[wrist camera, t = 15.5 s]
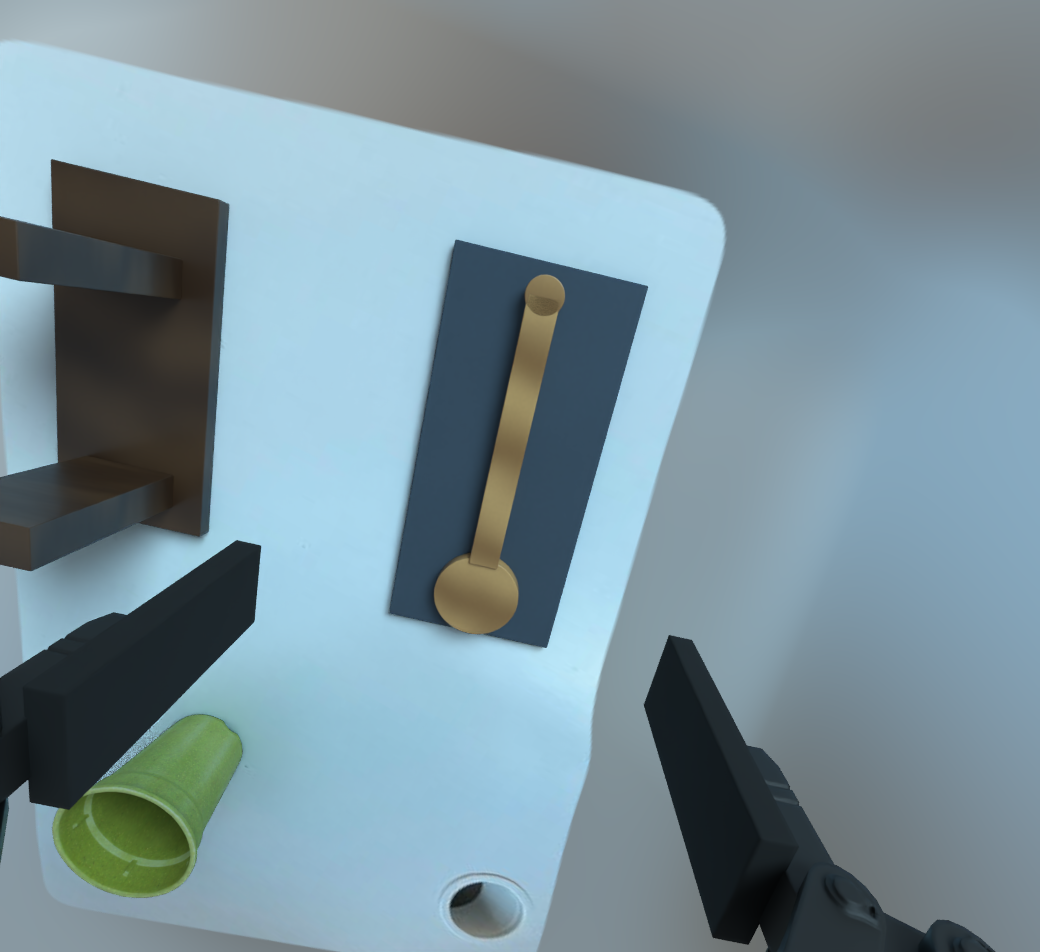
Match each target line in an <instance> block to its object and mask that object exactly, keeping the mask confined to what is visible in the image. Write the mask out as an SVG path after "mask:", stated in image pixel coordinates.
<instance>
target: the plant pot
mask: <svg viewBox="0 0 1040 952" xmlns="http://www.w3.org/2000/svg"><path fill="white" fill-rule="evenodd" d="M241 757H242V744H241V741H240V738H239V737H238V735H237V734H236V733H233V732H232V731H230V730H229V729H228V727H227V726H226V725H225V723H224V722H223V721H222V720H220V719H218V718H215V717H212V716H209V715H191V716H187V717H185V718H183V719H181V720H180V721H178V722H176V723H175V724H174V725H173V726H171V727H170V728H169V729H168V730H166V731H165V732H164V733H163V734H161V735H160V736H159V737H158V738H157V739H155V740H154V741H153V742H152V743H151V744H149V745H148V746H147V747H146V748H144V749H143V750H142V751H141V752H140V753H138V754H137V755H136V756H135V757H133V758H132V759H131V760H130V761H128V762H127V763H126V764H125V765H123V766H122V767H121V768H120V769H118V770H117V771H116V772H115V773H113V774H112V775H111V776H109V777H106V778H104V779H102V780H101V781H99V782H97V783H96V784H95V785H93V786H92V787H91V788H90V789H89V790H88V791H87V792H86V793H85V794H84V795H83V796H82V797H81V798H80V799H79V800H78V802H77V803H76V804H75V805H74V806H73V807H72V808H71V809H70V810H67V809H62V808H59V809H58V811H57V813H56V815H55V818H54V822H53V827H52V834H53V839H54V844H55V847H56V849H57V851H58V853H59V854H60V856H61V858H62V859H63V861H64V862H65V863H66V864H67V866H68V867H69V868H70V869H71V870H72V871H73V872H74V873H75V874H77V875H78V876H79V877H80V878H82V879H83V880H85V881H86V882H88V883H89V884H91V885H93V886H95V887H97V888H99V889H101V890H103V891H106V892H108V893H112V894H116V895H119V896H123V897H132V898H148V897H154V896H159V895H163V894H166V893H169V892H170V891H173V890H174V889H176V888H178V887H179V886H180V885H181V884H183V883H184V882H185V880H186V879H187V878H188V877H189V875H190V874H191V872H192V870H193V868H194V866H195V863H196V859H197V849H198V847H199V845H200V842H201V839H202V834H203V831H204V829H205V827H206V825H207V823H208V821H209V819H210V817H211V816H212V814H213V812H214V810H215V808H216V806H217V804H218V802H219V800H220V798H221V797H222V795H223V793H224V791H225V789H226V787H227V785H228V783H229V781H230V780H231V778H232V776H233V774H234V772H235V770H236V768H237V766H238V764H239V762H240V760H241Z"/></svg>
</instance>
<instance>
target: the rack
mask: <svg viewBox="0 0 1040 952" xmlns="http://www.w3.org/2000/svg"><path fill="white" fill-rule="evenodd" d="M51 186H52V228H53V229H52V228H48V227H44V226H40V225H35V224H31V223H27V222H23V221H18V220H14V219H10V218H6V217H1V216H0V276H1V277H5V278H9V279H14V280H18V281H25V282H34V283H42V284H51V285H54V312H55V354H56V396H57V439H58V463H55V464H51V465H47V466H43V467H39V468H35V469H31V470H27V471H23V472H19V473H15V474H12V475H8V476H4V477H0V565H4V566H9V567H13V568H18V569H23V570H27V571H33V570H35V569H37V568H39V567H41V566H44V565H46V564H48V563H50V562H52V561H55V560H57V559H59V558H61V557H63V556H66V555H68V554H70V553H72V552H75V551H77V550H79V549H81V548H83V547H86V546H88V545H90V544H92V543H94V542H97V541H99V540H101V539H103V538H105V537H108V536H110V535H112V534H114V533H116V532H119V531H121V530H123V529H125V528H127V527H130V526H132V525H134V524H136V523H141V524H145V525H150V526H154V527H159V528H163V529H168V530H172V531H177V532H181V533H186V534H190V535H195V536H202V535H203V534H205V533H207V532H208V530H209V514H210V499H211V483H212V467H213V451H214V435H215V420H216V404H217V388H218V372H219V357H220V341H221V325H222V309H223V293H224V278H225V262H226V246H227V230H228V215H229V204H227V203H225V202H223V201H221V200H218V199H214V198H210V197H206V196H202V195H197V194H193V193H189V192H185V191H181V190H177V189H173V188H169V187H164V186H160V185H156V184H152V183H148V182H144V181H140V180H135V179H131V178H127V177H123V176H119V175H115V174H111V173H106V172H102V171H98V170H94V169H90V168H86V167H82V166H78V165H73V164H69V163H65V162H61V161H57V160H53V159H52V160H51Z"/></svg>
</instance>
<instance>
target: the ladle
mask: <svg viewBox="0 0 1040 952" xmlns="http://www.w3.org/2000/svg"><path fill="white" fill-rule="evenodd" d="M564 300H565V291H564V288H563V285H562V284H561V282H560V281H559V280H558V279H557V278H555V277H553V276H551V275H539V276H537V277H535V278H533V279H532V280H531V281H530V282H529V284H528V285H527V287H526V290H525V303H526V305H525V310H524V314H523V319H522V323H521V328H520V333H519V337H518V342H517V346H516V351H515V355H514V360H513V364H512V369H511V373H510V378H509V383H508V387H507V392H506V396H505V401H504V405H503V410H502V414H501V419H500V423H499V428H498V433H497V437H496V442H495V446H494V451H493V455H492V460H491V464H490V469H489V473H488V478H487V483H486V487H485V492H484V496H483V501H482V505H481V510H480V514H479V519H478V523H477V528H476V533H475V537H474V542H473V546H472V551H471V553H466V554H463V555H460V556H457V557H455V558H454V559H452V560H451V561H449V562H448V563H447V564H446V565H445V566H444V567H443V569H442V570H441V572H440V574H439V576H438V578H437V581H436V584H435V587H434V601H435V605H436V608H437V610H438V612H439V613H440V615H441V616H442V618H443V619H444V620H445V621H446V622H447V623H448V624H449V625H451V626H452V627H454V628H456V629H457V630H460V631H462V632H466V633H471V634H485V633H490V632H493V631H495V630H498V629H499V628H501V627H503V626H504V625H505V624H506V623H508V621H509V620H510V619H511V618H512V616H513V615H514V613H515V611H516V608H517V605H518V597H519V587H518V582H517V579H516V577H515V575H514V573H513V571H512V570H511V569H510V567H509V566H508V565H507V564H506V563H504V562H503V561H502V560H500V555H501V551H502V547H503V542H504V538H505V534H506V530H507V526H508V521H509V517H510V513H511V509H512V505H513V500H514V496H515V492H516V488H517V484H518V479H519V475H520V471H521V467H522V463H523V458H524V454H525V450H526V446H527V442H528V437H529V433H530V429H531V425H532V421H533V416H534V412H535V408H536V404H537V400H538V395H539V391H540V387H541V383H542V378H543V374H544V370H545V366H546V362H547V357H548V353H549V349H550V345H551V341H552V336H553V332H554V328H555V324H556V320H557V315H558V312H559V311H560V309H561V308H562V306H563V304H564Z"/></svg>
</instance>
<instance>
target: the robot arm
mask: <svg viewBox="0 0 1040 952" xmlns="http://www.w3.org/2000/svg"><path fill="white" fill-rule="evenodd" d="M260 553H261V546H260V545H256V544H251V543H247V542H242V541H238V540H236V541H235V542H233V543H232V544H230V545H229V546H228V547H226V548H225V549H223V550H222V551H220V552H219V553H217V554H216V555H214V556H213V557H211V558H210V559H208V560H207V561H206V562H204V563H203V564H201V565H200V566H198V567H197V568H195V569H194V570H192V571H191V572H189V573H188V574H187V575H185V576H184V577H182V578H181V579H179V580H178V581H176V582H175V583H173V584H172V585H170V586H169V587H168V588H166V589H165V590H163V591H162V592H160V593H159V594H157V595H156V596H154V597H153V598H151V599H150V600H148V601H147V602H146V603H144V604H143V605H141V606H140V607H138V608H137V609H135V610H134V611H132V612H131V613H129V614H128V615H124V614H119V613H114V612H113V613H111V614H108V615H105V616H103V617H100V618H97V619H94V620H92V621H89V622H87V623H85V624H84V625H82V626H80V627H79V628H77V629H76V630H74V631H73V632H71V633H70V634H68V635H66V637H65V639H63V638H62V639H60V640H59V641H57V642H55V643H54V644H52V645H51V646H49V648H48V649H47V650H43V651H41V652H40V653H38V654H37V655H35V656H33V657H32V658H30V659H29V660H27V661H26V662H24V663H22V664H21V665H19V666H18V667H16V668H15V669H13V670H12V671H10V672H9V673H7V674H5V675H4V676H2V677H1V678H0V862H1V855H2V849H3V843H4V836H5V830H6V823H7V817H8V811H9V806H8V797H9V796H10V795H11V794H12V793H13V792H14V791H15V790H17V789H18V788H19V787H20V786H21V785H22V784H23V783H24V782H26V781H27V780H28V781H29V798H30V802H31V803H36V804H41V805H46V806H52V807H57V808H62V809H67V810H70V809H71V808H72V807H73V806H74V805H75V804H76V803H77V802H78V800H79V799H80V798H81V797H82V796H83V795H84V794H85V793H86V792H87V791H88V790H89V789H90V788H91V787H92V786H93V785H94V784H95V783H96V782H97V781H98V780H99V779H100V778H101V777H102V776H103V775H104V774H105V773H106V772H107V771H108V770H109V769H110V768H111V767H112V766H113V765H114V764H115V763H116V762H117V761H118V760H119V759H120V758H121V757H122V756H123V755H124V754H125V753H126V752H127V751H128V750H129V749H130V748H131V747H132V746H133V745H134V744H135V743H136V742H137V741H138V739H139V738H140V737H141V736H142V735H143V734H144V733H145V732H146V731H147V730H148V729H149V728H150V727H151V726H152V725H153V724H154V723H155V722H156V721H157V720H158V719H159V718H160V717H161V716H162V715H163V714H164V713H165V712H166V711H167V710H168V709H169V708H170V707H171V706H172V705H173V704H174V703H175V702H176V701H177V700H178V699H179V698H180V697H181V696H182V695H183V694H184V693H185V692H186V691H187V690H188V689H189V688H190V687H191V686H192V685H193V684H194V683H195V682H196V681H197V680H198V678H199V677H200V676H201V675H202V674H203V673H204V672H205V671H206V670H207V669H208V668H209V667H210V666H211V665H212V664H213V663H214V662H215V661H216V660H217V659H218V658H219V657H220V656H221V655H222V654H223V653H224V652H225V651H226V650H227V649H228V648H229V647H230V646H231V645H232V644H233V643H234V642H235V641H236V640H237V639H238V638H239V637H240V636H241V635H242V634H243V633H244V632H245V631H246V630H247V629H248V628H249V627H250V626H251V625H252V624H253V623H254V620H255V609H256V598H257V586H258V575H259V564H260ZM644 707H645V711H646V714H647V717H648V721H649V724H650V727H651V731H652V734H653V738H654V741H655V744H656V748H657V751H658V754H659V758H660V761H661V765H662V768H663V771H664V774H665V778H666V781H667V785H668V788H669V791H670V795H671V798H672V802H673V805H674V808H675V812H676V815H677V818H678V822H679V825H680V829H681V832H682V835H683V839H684V842H685V845H686V849H687V852H688V855H689V859H690V862H691V866H692V869H693V873H694V876H695V879H696V883H697V886H698V889H699V893H700V896H701V899H702V903H703V906H704V910H705V913H706V916H707V920H708V923H709V927H710V930H711V933H712V937H713V938H717V939H722V940H727V941H732V942H737V943H742V944H747V945H748V944H749V943H750V941H751V939H752V937H753V935H754V933H755V931H756V929H757V928H758V925H759V924H760V927H761V929H762V932H763V935H764V937H765V940H766V942H767V945H768V948H767V950H766V952H995V951H994V950H993V949H992V948H991V947H990V946H988V945H987V944H986V943H985V942H984V941H983V940H982V939H981V938H979V937H978V936H976V935H975V934H973V933H972V932H970V931H969V930H968V929H966V928H965V927H963V926H960V925H958V924H955V923H953V922H951V921H949V920H937V921H936V922H934V923H933V924H932V925H931V927H930V928H929V930H928V931H927V933H926V934H925V933H923V932H921V931H919V930H917V929H915V928H913V927H911V926H909V925H907V924H905V923H903V922H901V921H899V920H897V919H895V918H893V917H891V916H889V915H887V914H886V913H884V912H883V911H882V909H881V907H880V906H879V904H878V902H877V900H876V899H875V898H874V896H873V895H872V894H871V893H870V892H869V890H868V889H867V888H866V887H865V886H864V885H863V884H862V883H861V882H860V881H859V880H857V879H856V878H855V877H854V876H853V875H852V874H850V873H849V872H847V871H845V870H843V869H842V868H840V867H839V866H837V865H834V863H833V861H832V860H831V858H830V856H829V854H828V853H827V851H826V849H825V847H824V846H823V844H822V842H821V840H820V838H819V837H818V835H817V833H816V831H815V830H814V828H813V826H812V825H811V823H810V821H809V819H808V817H807V815H806V814H805V812H804V810H803V808H802V807H801V806H799V801H798V800H797V798H796V796H795V794H794V793H793V791H792V790H790V786H789V784H788V782H787V780H786V779H785V777H784V775H783V773H782V771H781V770H780V768H779V767H778V765H777V764H776V763H775V762H774V761H773V760H772V759H771V758H770V757H769V756H768V755H767V754H766V753H765V752H764V751H763V749H761V748H756V747H751V746H747V745H746V743H745V741H744V739H743V737H742V736H741V733H740V732H739V730H738V728H737V726H736V724H735V722H734V720H733V718H732V716H731V714H730V712H729V710H728V709H727V707H726V705H725V703H724V701H723V699H722V697H721V695H720V693H719V691H718V689H717V687H716V685H715V683H714V681H713V680H712V678H711V676H710V674H709V672H708V670H707V668H706V666H705V664H704V662H703V660H702V658H701V656H700V654H699V653H698V651H697V649H696V647H695V645H694V643H693V641H692V640H689V639H684V638H680V637H675V636H671V635H669V636H668V639H667V642H666V645H665V648H664V650H663V653H662V656H661V659H660V662H659V664H658V667H657V670H656V673H655V676H654V678H653V681H652V684H651V687H650V689H649V692H648V695H647V698H646V701H645V704H644Z"/></svg>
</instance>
